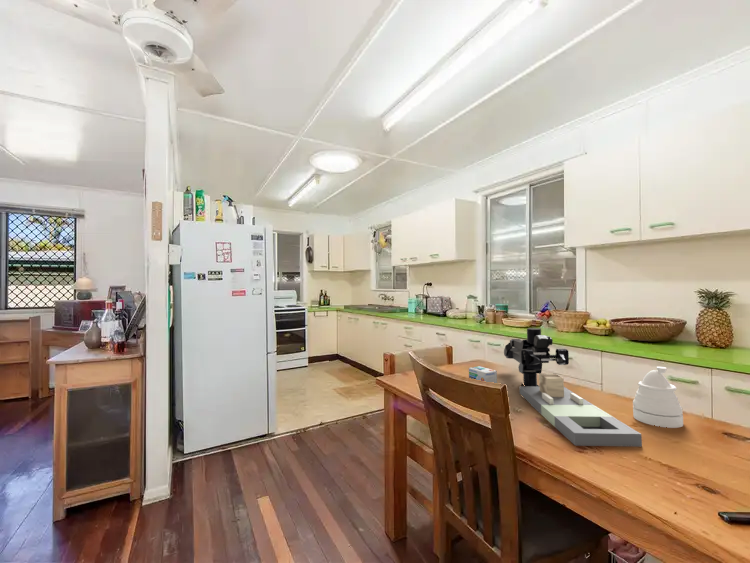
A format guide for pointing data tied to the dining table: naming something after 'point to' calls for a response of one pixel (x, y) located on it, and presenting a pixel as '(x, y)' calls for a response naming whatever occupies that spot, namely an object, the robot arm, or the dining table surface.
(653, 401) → the honey pot
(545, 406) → the platform
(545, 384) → the maple block
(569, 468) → the dining table surface
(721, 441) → the dining table surface
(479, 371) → the light bulb box
